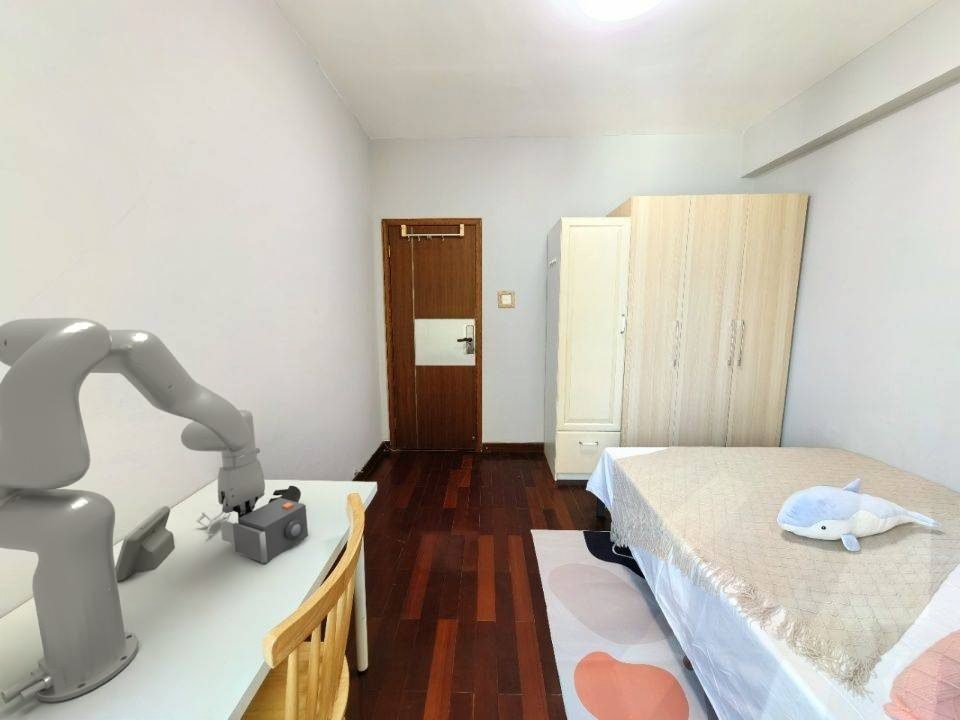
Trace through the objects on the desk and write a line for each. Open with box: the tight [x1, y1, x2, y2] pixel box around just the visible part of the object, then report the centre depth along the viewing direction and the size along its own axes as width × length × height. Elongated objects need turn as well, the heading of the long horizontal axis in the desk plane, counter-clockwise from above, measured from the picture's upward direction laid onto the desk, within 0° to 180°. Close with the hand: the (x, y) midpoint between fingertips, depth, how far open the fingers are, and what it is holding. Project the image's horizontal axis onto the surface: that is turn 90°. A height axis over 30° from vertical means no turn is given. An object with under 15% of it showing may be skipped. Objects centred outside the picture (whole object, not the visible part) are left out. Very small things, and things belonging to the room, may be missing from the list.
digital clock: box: [115, 505, 176, 582], centre depth 96 cm, size 16×9×11 cm, turn 1°
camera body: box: [237, 497, 309, 563], centre depth 102 cm, size 12×11×10 cm
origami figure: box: [195, 503, 232, 539], centre depth 110 cm, size 12×8×5 cm
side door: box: [220, 519, 269, 564], centre depth 97 cm, size 1×16×8 cm, turn 64°
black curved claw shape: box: [267, 485, 302, 504], centre depth 118 cm, size 10×7×7 cm
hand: (246, 524), depth 103 cm, fingers closed
